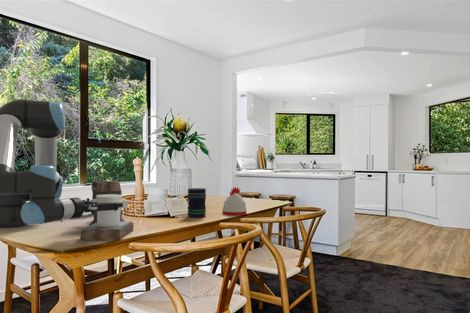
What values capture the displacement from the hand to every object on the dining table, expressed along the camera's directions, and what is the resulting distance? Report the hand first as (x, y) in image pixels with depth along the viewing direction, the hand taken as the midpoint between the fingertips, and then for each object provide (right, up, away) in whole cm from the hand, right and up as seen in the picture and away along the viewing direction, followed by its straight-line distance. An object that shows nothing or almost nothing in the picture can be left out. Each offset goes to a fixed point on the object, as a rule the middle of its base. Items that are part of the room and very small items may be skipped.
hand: (115, 202), depth 145 cm
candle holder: (-2, -9, -3) cm, 10 cm away
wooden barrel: (-26, -13, +53) cm, 60 cm away
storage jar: (+29, -14, +45) cm, 55 cm away
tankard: (-12, -13, +22) cm, 28 cm away
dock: (-2, -13, -3) cm, 13 cm away
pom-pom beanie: (+49, -14, +58) cm, 78 cm away
